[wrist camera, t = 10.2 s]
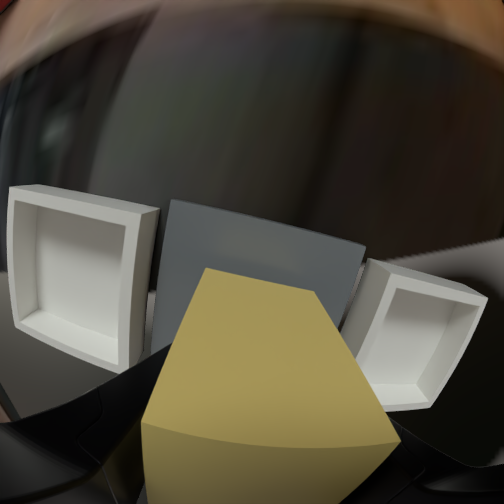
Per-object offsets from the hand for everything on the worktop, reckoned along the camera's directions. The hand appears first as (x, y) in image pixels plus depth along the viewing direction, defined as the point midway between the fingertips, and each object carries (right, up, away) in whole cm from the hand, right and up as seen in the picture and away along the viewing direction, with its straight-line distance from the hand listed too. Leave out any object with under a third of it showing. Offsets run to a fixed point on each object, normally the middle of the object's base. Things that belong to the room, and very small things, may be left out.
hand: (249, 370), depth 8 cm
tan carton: (0, +1, +3) cm, 3 cm away
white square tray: (+8, -1, +5) cm, 9 cm away
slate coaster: (0, +1, +4) cm, 4 cm away
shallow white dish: (-8, +3, +3) cm, 9 cm away
